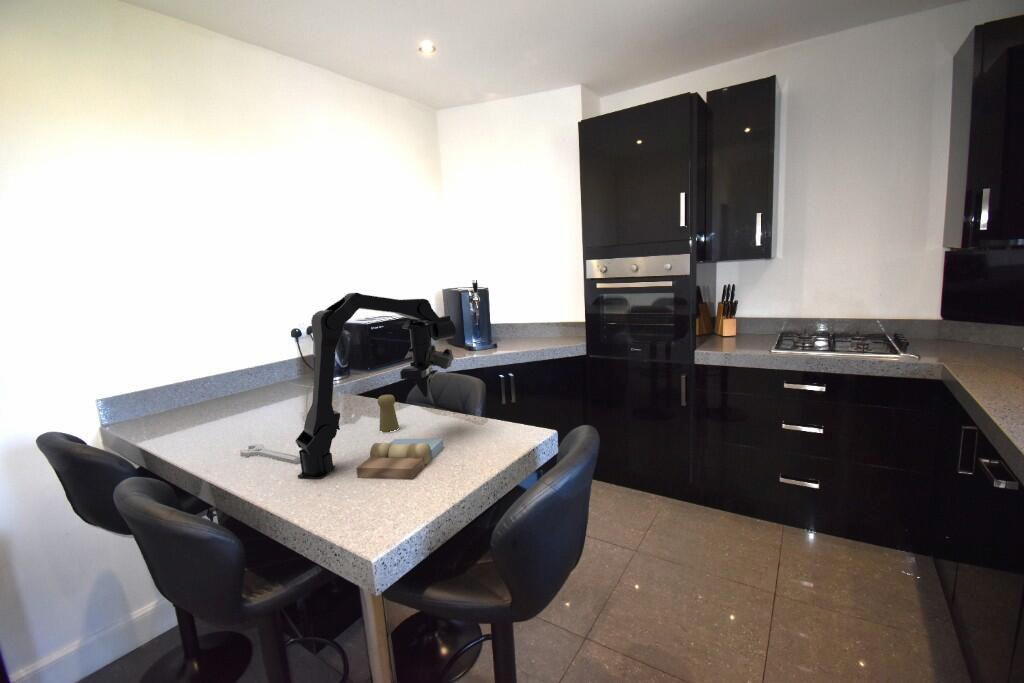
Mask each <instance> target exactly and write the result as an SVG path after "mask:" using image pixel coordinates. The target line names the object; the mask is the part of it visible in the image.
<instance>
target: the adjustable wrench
mask: <svg viewBox="0 0 1024 683" xmlns="http://www.w3.org/2000/svg"><path fill="white" fill-rule="evenodd" d="M249 449H251V450H249ZM239 453H240V457H243V456H245V457H246V458H250V457H249V456H251V457H262V456H264V457H263V458H267V457H268V459H271V458H272V459H271V460H275V459H276V460H275V461H280V462H285V463H289V464H293V465H299V464H300V465H301V462H300V455H296V454H292V453H287V452H282V451H277V450H272V449H267V448H266V447H265V445H264V444H261V443H257V444H251V445H248V449H240V451H239ZM258 455H259V456H258ZM245 457H244V458H245Z"/></svg>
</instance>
